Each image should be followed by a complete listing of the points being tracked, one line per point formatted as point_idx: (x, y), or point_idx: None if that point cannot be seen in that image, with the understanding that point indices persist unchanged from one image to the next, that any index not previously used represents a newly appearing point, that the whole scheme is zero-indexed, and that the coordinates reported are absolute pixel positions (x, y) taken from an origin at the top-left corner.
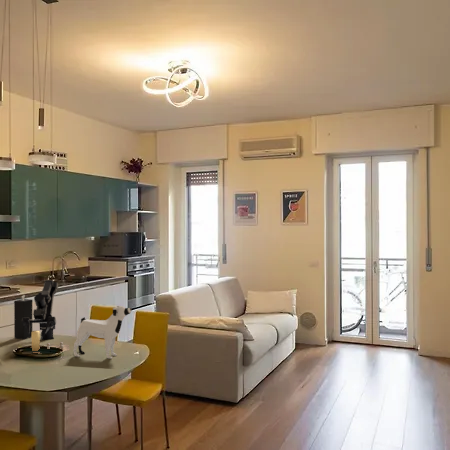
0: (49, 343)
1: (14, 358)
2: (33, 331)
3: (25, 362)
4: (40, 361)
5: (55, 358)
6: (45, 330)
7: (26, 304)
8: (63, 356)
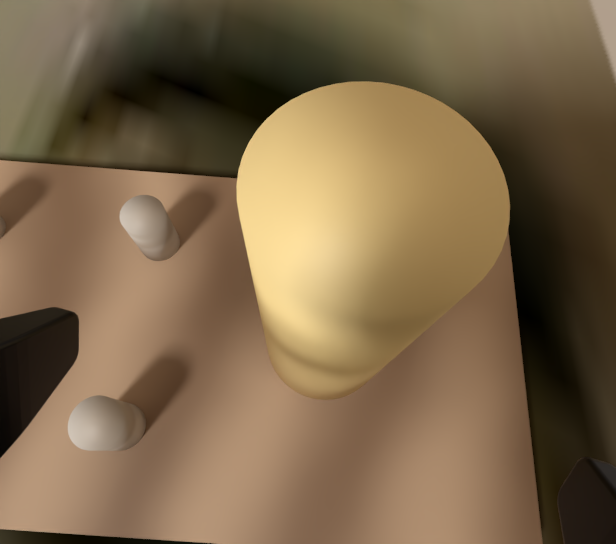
0: (77, 419)
1: (554, 195)
2: (448, 228)
3: (424, 28)
4: (293, 3)
5: (148, 30)
6: (3, 334)
7: None
8: (57, 58)
